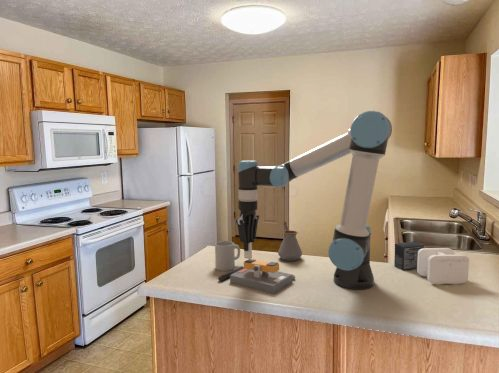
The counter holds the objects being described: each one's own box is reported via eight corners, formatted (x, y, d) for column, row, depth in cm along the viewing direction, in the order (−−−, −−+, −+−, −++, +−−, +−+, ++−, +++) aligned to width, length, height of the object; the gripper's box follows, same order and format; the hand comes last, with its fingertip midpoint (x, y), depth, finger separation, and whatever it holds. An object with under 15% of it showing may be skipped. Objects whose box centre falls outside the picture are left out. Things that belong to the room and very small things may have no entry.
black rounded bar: (244, 270, 156) (244, 266, 156) (221, 282, 143) (221, 277, 143) (241, 269, 157) (241, 265, 157) (217, 281, 144) (217, 276, 144)
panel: (292, 281, 143) (292, 263, 142) (273, 293, 131) (273, 274, 131) (250, 272, 154) (250, 254, 153) (230, 282, 143) (229, 263, 142)
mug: (221, 272, 154) (221, 247, 153) (212, 266, 161) (211, 242, 160) (245, 266, 161) (244, 242, 160) (234, 261, 168) (234, 238, 167)
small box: (413, 263, 163) (414, 240, 162) (424, 268, 157) (425, 244, 155) (393, 266, 160) (394, 242, 159) (403, 271, 154) (404, 246, 152)
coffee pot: (304, 262, 166) (304, 230, 165) (279, 263, 166) (279, 230, 164) (295, 248, 188) (295, 220, 186) (273, 249, 187) (273, 220, 185)
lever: (279, 270, 140) (278, 262, 140) (273, 273, 137) (273, 265, 136) (249, 265, 148) (249, 258, 148) (243, 268, 145) (243, 261, 144)
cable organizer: (452, 275, 148) (454, 247, 147) (468, 285, 138) (470, 255, 136) (416, 275, 148) (417, 248, 147) (429, 286, 137) (430, 256, 136)
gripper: (249, 197, 150) (249, 252, 153) (230, 201, 139) (230, 260, 142) (264, 198, 146) (264, 255, 149) (245, 203, 135) (246, 264, 138)
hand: (248, 258), depth 145 cm, fingers closed
